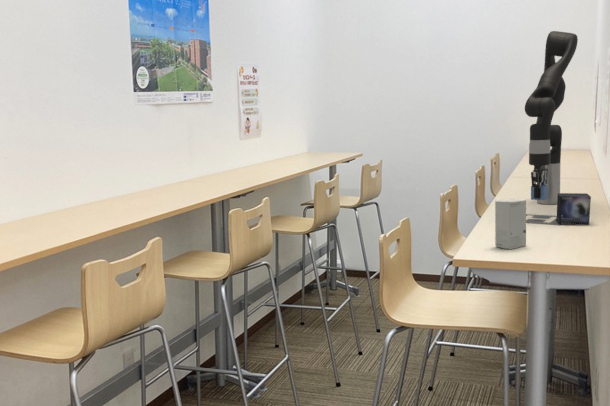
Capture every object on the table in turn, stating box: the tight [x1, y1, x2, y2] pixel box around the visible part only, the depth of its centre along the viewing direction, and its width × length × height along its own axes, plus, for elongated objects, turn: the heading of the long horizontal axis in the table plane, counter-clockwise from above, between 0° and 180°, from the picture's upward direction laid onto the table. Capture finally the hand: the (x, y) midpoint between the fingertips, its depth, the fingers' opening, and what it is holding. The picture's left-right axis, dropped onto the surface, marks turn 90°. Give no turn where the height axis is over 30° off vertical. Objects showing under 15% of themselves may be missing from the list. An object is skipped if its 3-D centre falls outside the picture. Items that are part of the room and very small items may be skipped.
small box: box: [556, 192, 592, 226], centre depth 252 cm, size 11×6×10 cm, turn 80°
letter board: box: [526, 213, 562, 226], centre depth 263 cm, size 17×20×1 cm
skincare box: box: [494, 198, 527, 250], centre depth 219 cm, size 8×6×15 cm
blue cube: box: [530, 185, 548, 201], centre depth 261 cm, size 5×5×5 cm
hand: (539, 197), depth 262 cm, fingers closed on blue cube, 5 cm apart
